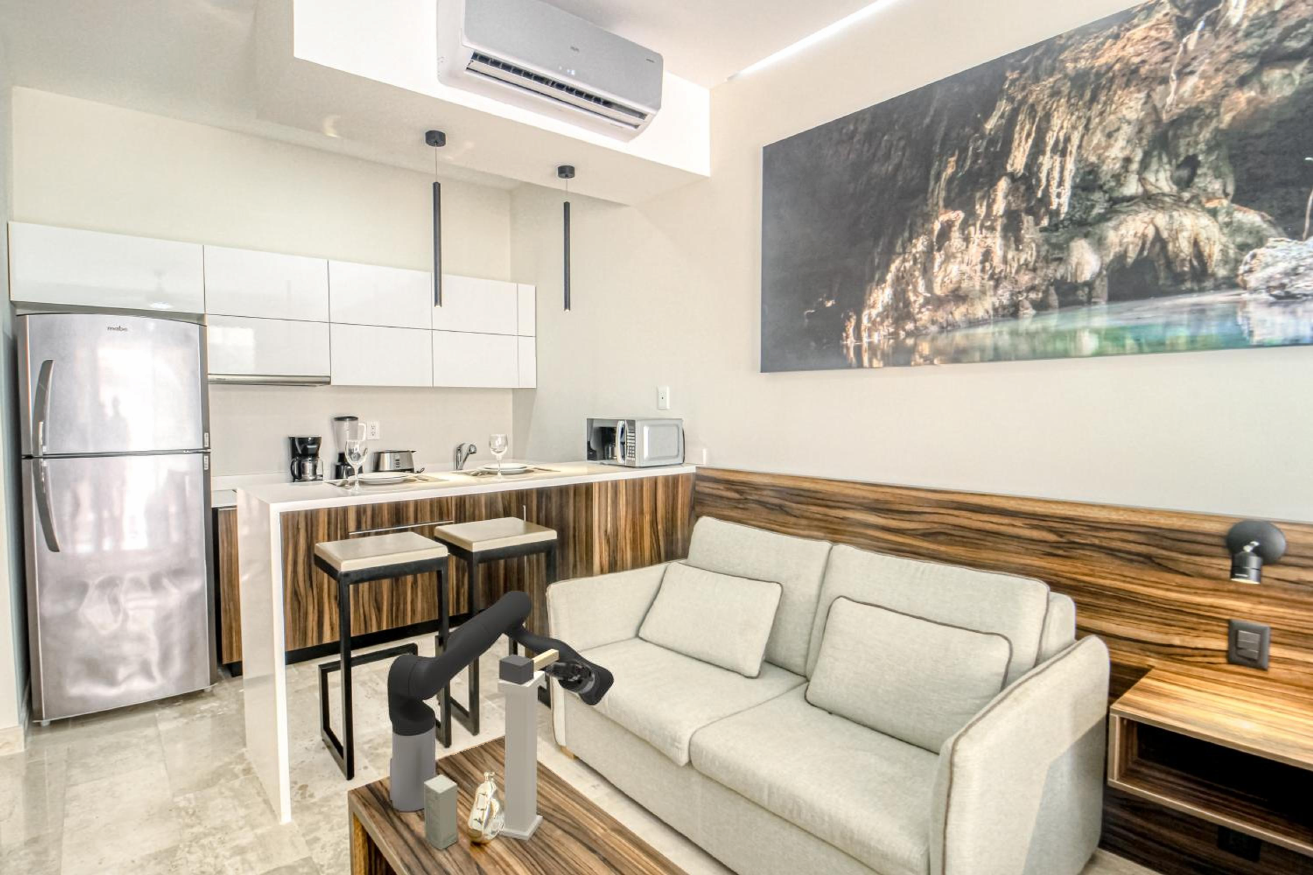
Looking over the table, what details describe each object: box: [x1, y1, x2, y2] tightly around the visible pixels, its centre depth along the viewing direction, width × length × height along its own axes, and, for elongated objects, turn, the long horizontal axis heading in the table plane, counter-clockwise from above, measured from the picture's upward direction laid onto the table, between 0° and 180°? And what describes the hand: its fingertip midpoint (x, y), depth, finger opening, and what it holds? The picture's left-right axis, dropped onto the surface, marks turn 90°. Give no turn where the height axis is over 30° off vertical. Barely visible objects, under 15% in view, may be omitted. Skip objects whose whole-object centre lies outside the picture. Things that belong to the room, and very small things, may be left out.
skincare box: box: [423, 773, 459, 851], centre depth 138 cm, size 6×4×12 cm
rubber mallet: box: [498, 649, 559, 685], centre depth 144 cm, size 15×6×4 cm, turn 151°
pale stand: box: [497, 671, 546, 842], centre depth 141 cm, size 8×7×33 cm
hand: (554, 665), depth 157 cm, fingers open, 8 cm apart
